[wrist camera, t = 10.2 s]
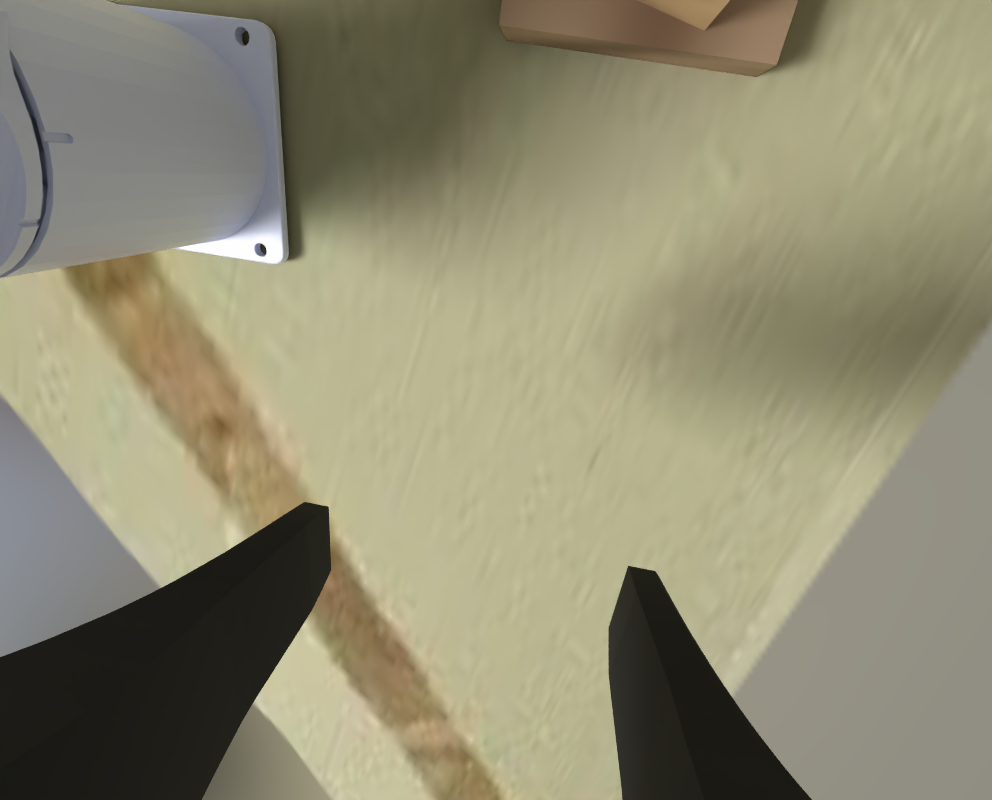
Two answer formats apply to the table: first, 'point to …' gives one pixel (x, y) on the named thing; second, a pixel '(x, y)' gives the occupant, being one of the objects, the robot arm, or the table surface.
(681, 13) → the top block
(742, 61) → the base block
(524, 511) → the table surface
